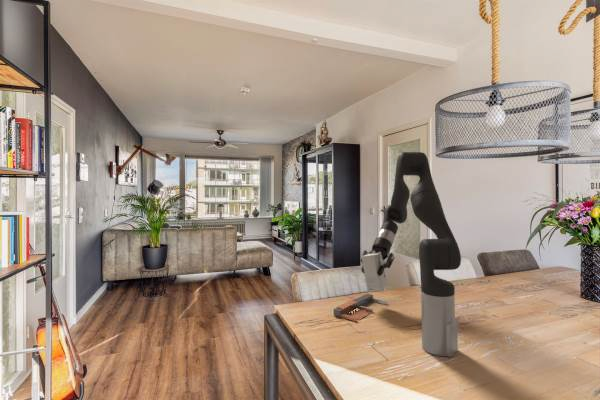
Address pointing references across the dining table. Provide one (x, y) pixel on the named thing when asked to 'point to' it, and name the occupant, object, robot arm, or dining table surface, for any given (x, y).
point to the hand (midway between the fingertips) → (370, 273)
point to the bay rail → (356, 303)
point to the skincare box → (373, 273)
